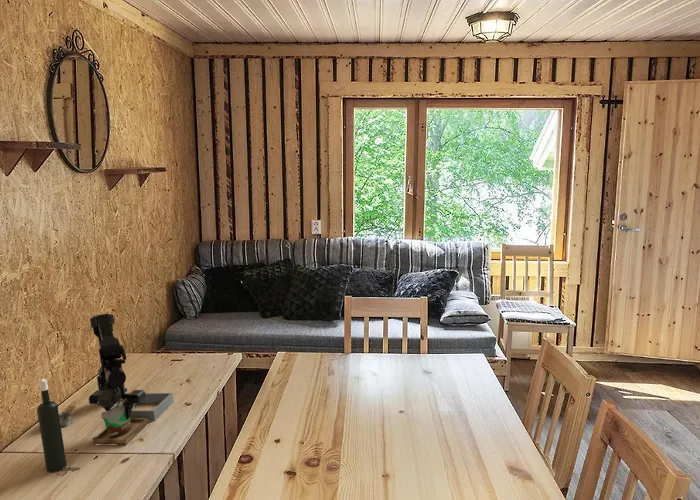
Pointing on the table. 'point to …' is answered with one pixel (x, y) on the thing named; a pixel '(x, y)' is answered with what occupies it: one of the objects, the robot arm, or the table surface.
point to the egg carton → (65, 418)
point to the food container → (116, 419)
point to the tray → (125, 438)
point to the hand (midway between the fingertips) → (120, 419)
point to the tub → (164, 401)
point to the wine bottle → (50, 431)
